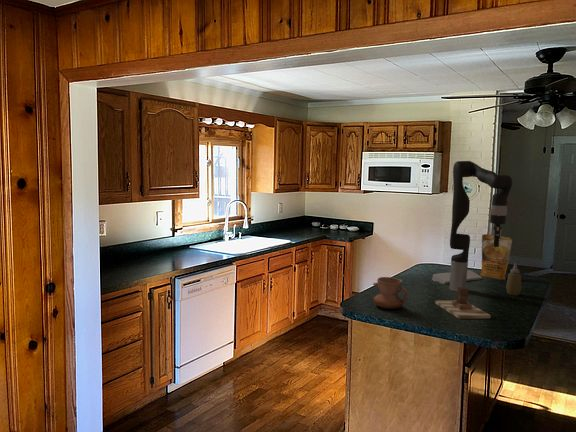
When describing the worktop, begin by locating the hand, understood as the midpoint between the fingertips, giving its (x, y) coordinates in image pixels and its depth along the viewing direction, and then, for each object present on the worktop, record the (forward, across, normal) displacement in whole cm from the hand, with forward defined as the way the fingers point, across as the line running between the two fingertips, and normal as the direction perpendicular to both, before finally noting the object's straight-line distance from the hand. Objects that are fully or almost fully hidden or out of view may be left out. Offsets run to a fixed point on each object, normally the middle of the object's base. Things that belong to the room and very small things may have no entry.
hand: (496, 245), depth 251 cm
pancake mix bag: (+32, -77, +2) cm, 84 cm away
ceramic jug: (+32, +27, -48) cm, 64 cm away
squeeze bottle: (+32, -34, +12) cm, 48 cm away
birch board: (+32, +15, -14) cm, 38 cm away
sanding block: (+31, +15, -14) cm, 37 cm away
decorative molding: (+33, -56, -20) cm, 68 cm away
